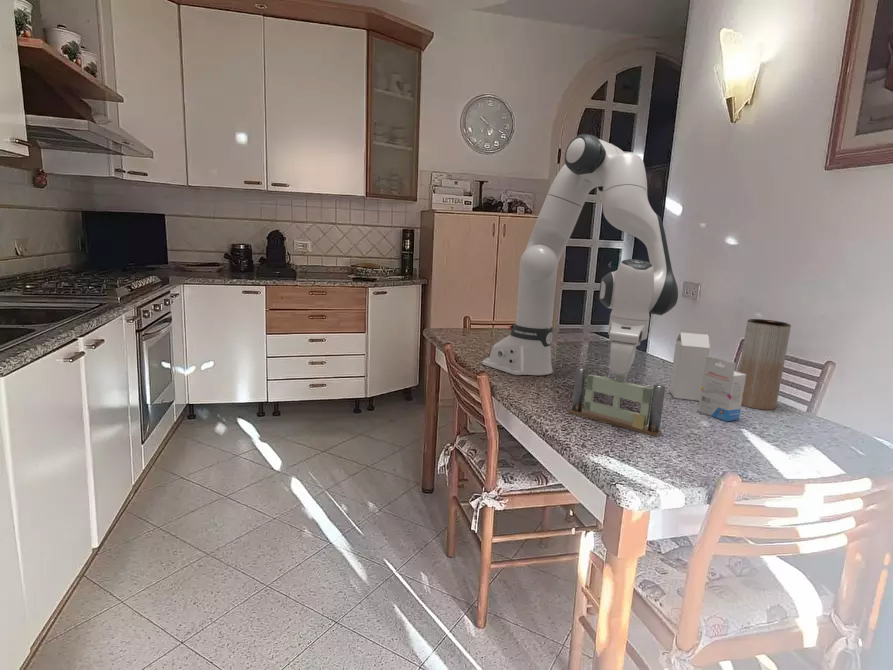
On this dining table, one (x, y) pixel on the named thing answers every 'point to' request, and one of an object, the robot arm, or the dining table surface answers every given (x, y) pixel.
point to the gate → (617, 397)
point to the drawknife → (636, 425)
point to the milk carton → (689, 364)
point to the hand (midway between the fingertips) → (620, 385)
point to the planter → (763, 362)
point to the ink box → (721, 390)
